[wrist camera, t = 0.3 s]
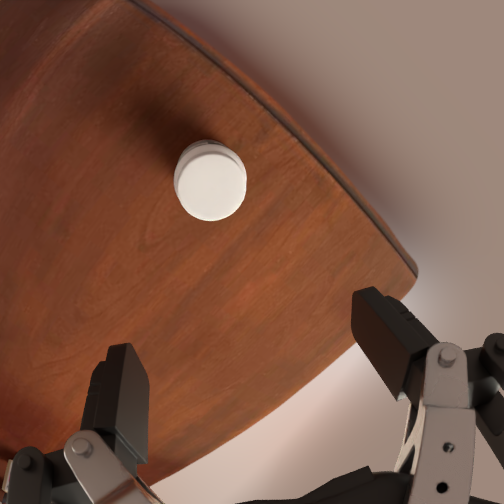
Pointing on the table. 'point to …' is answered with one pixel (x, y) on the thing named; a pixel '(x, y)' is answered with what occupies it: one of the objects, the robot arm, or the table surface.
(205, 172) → the pill bottle
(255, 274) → the table surface
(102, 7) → the table surface
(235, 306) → the table surface
